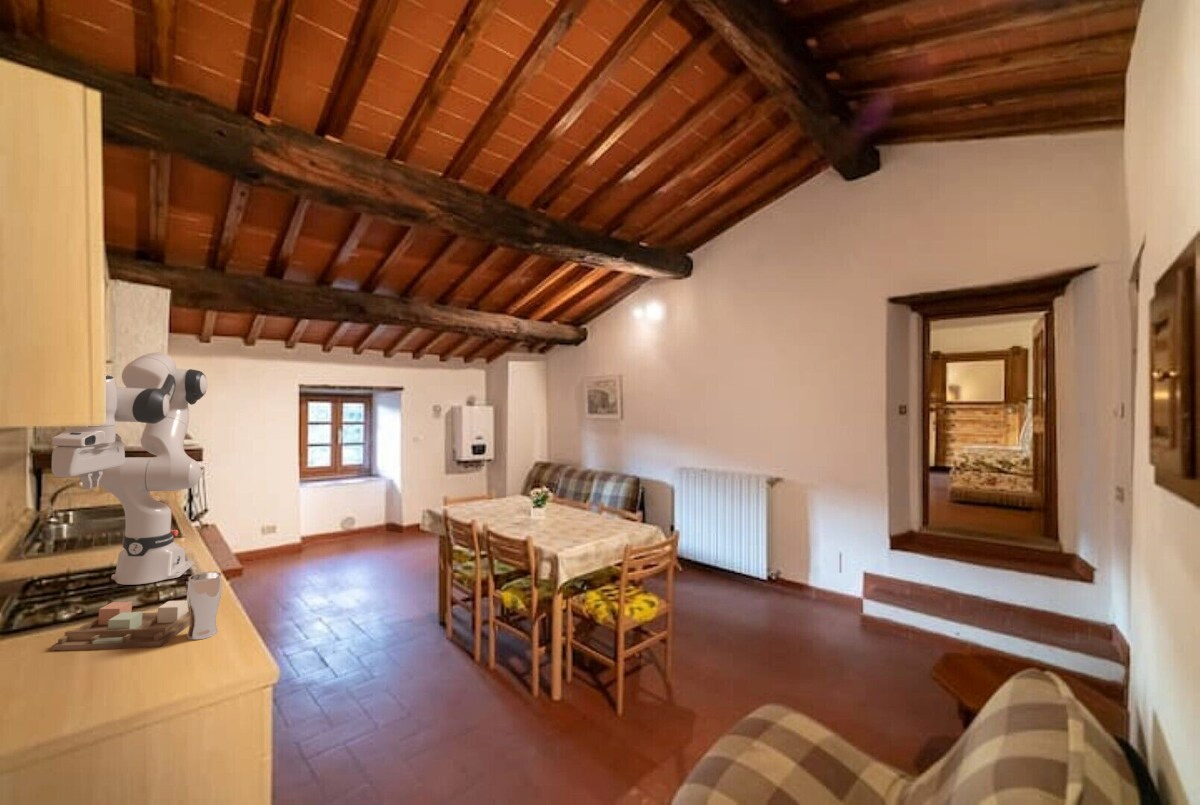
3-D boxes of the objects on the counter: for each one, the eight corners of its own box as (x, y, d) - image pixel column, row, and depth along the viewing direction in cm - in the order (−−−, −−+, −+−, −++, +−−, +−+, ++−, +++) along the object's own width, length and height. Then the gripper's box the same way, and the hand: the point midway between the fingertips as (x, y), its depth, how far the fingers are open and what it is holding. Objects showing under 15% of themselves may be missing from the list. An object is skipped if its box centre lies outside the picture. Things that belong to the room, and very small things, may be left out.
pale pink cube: (168, 615, 137) (168, 600, 137) (187, 615, 138) (188, 600, 138) (157, 623, 133) (157, 607, 133) (176, 622, 134) (177, 607, 134)
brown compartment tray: (108, 618, 137) (109, 606, 137) (202, 615, 141) (202, 604, 141) (51, 650, 119) (52, 637, 119) (160, 646, 124) (160, 633, 124)
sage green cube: (120, 628, 129) (121, 612, 129) (141, 627, 130) (142, 611, 130) (107, 636, 125) (108, 620, 125) (129, 635, 126) (129, 619, 126)
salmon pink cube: (111, 617, 135) (112, 602, 135) (131, 616, 136) (132, 601, 136) (98, 624, 130) (99, 609, 130) (118, 624, 131) (119, 608, 131)
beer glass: (183, 643, 126) (187, 582, 126) (185, 632, 132) (188, 573, 132) (219, 636, 130) (222, 577, 130) (219, 626, 136) (222, 569, 136)
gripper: (107, 432, 145) (105, 481, 145) (45, 439, 125) (43, 496, 125) (133, 433, 146) (131, 481, 146) (76, 440, 126) (74, 496, 126)
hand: (90, 488), depth 136 cm, fingers closed
